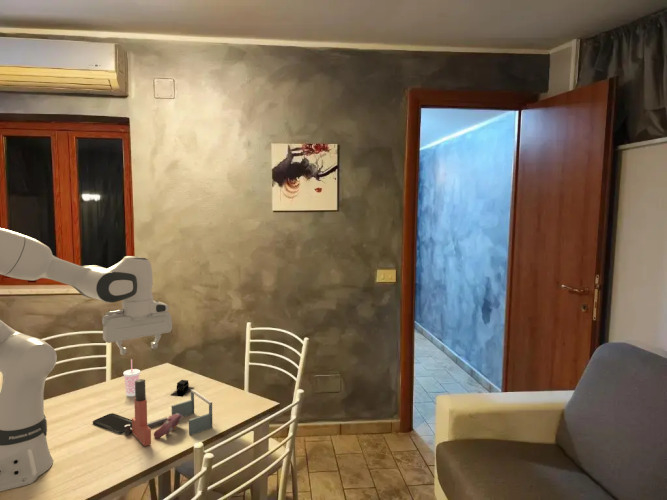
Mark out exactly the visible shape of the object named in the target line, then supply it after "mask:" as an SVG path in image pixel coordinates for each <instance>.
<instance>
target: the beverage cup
mask: <svg viewBox="0 0 667 500" xmlns="http://www.w3.org/2000/svg"><path fill="white" fill-rule="evenodd" d="M122 373H123V378H124V388H125V395H126V397H134V396H135V381H136V380H139V379H140V374H141V370H140V369H137V368H133V359H132V358H131V359H130V369H127V370H124V371H123V372H122Z"/></svg>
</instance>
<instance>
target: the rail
mask: <svg viewBox="0 0 667 500" xmlns="http://www.w3.org/2000/svg"><path fill="white" fill-rule="evenodd" d="M167 419H168V417H167V416H166V417H163V418H159V419H157V420H153V421H150V422H147V426H148V427H149V428H150V429H152V428H154V427H158V426H162V425H163V424H164V423H165V421H166V420H167ZM132 434H133V433H132V428H130V424H128V425H125V426H124V433H123V435H124V436H128V435H132Z"/></svg>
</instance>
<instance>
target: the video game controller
mask: <svg viewBox="0 0 667 500" xmlns="http://www.w3.org/2000/svg"><path fill="white" fill-rule="evenodd" d="M167 418H168V419H167V420H166V421H165V423H164V424H161V425H160V427H159V428H158V429H156V430H155V431H153V437H154V438H156V439H159V438H162V437H164V436H165V435H166V436H168V435H170V433H171V432H173V431H174V430H176V428H177V426H178V425H179V423H180V422H181V421H182V419H183V418H184V417H183V416H182V415H181V414H178V413H176V414H174V415H172V414H171V415H169V416H168V417H167Z"/></svg>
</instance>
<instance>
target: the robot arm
mask: <svg viewBox="0 0 667 500" xmlns="http://www.w3.org/2000/svg"><path fill="white" fill-rule="evenodd" d="M0 275H1V276H5V277H9V278H13V279H19V280H25V281H37V280H39V279H49V280H52V281H55V282H58V283H61V284H65V285H68V286H71V287H72V288H74V289H75V290H76V291H77V292H78V293H79V294H80V295H82V296H84V297H86V298H89V299H94V300H97V301H101V302H104V303H107V304H108V303H109V304H110V303H117V302H122V303H121V304H122V305H121V307H122V309H118V310H111V311H107V312H106V313H104V314H103V315H102V317H101V323H102V326H103V327H102V328H103V329H102V339H103V340H104V342H106V343H107V344H112V343H115V345H116V346H117V347H118V348H119V354H120V355H127V353H128V352H127V351H128V349H127V348H126V347H123V346H122V345H123V341H127V340H133V339H139V338H144V337H146V338H147V337H151V336H153V337H155V338H154V340H153V341H151V342H150V347H151V348H150V349H152V350H154V349H157V348H158V347H159V346H158V343H159V341H160V339H161V337H162V334H163V335H164V334H168V333H171V331H172V330H173V320H172V316H171V313H170V312H169V310H170V307H169V306H170V305H169V304H166V303H165V302H162V301H158V300H155V299H154V295H153V291H152V289H153V284H154V282H153V281H154V280H153V269H152V264H151V261H150V260H149V259H148V258H146V257H143V256H142V257H141V256H134V255H126V256H123V258H122V259H121V260H120V261H118V262H117V263H115V264H114V265H112V266H110V267H107V268H106V267H103V266H100V265H96V264H92V265H78V264H76V263H74V262H70V261H67V260H64V259H62V258H59V257H57V256H56V255H53V252H52V250H51V248H50V247H49V246H48V245H46V244H44V243H43V242H41V241H40V240H37V239H36V238H33V237H31V236H28V235H25V234H22V233H19V232H17V231H13V230H10V229H6V228H1V227H0ZM57 356H58V355H57V351H56V350H55V348H54V347H53V346H51V344H49V343H48V342H46V341H45V340H43V339H42V338H39V337H34V336H31V335H28V334H26V333H23V332H20V331H18V330H15V329H14V328H12V327H10V326H9V325H8V324H6V323H5V322H4V321H2V320H1V319H0V372H1V374H2V379H3V381H2V386H1V389H0V492H3V491H9V490H12V489H15V488H19V487H23V486H27V485H30V484H33V483H34V482H35V481H36V480H37V479H38V477H40V476H41V475H43V474H44V473H45V472H47V471H48V470H49V469H50V468H51V467H52V465H53V463H54V460H53V457H52V455H51V452H50V449H49V443H48V440H47V432H48V422H47V421H48V420H47V417H46V415H45V409H44V408H45V405H44V403H45V401H44V391H45V384H46V382H47V381H46V380H47V377H48V375H49V374H50V373H51V372H52V371H53V370H54V368H55V366H56V364H57V359H58V357H57Z"/></svg>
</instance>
